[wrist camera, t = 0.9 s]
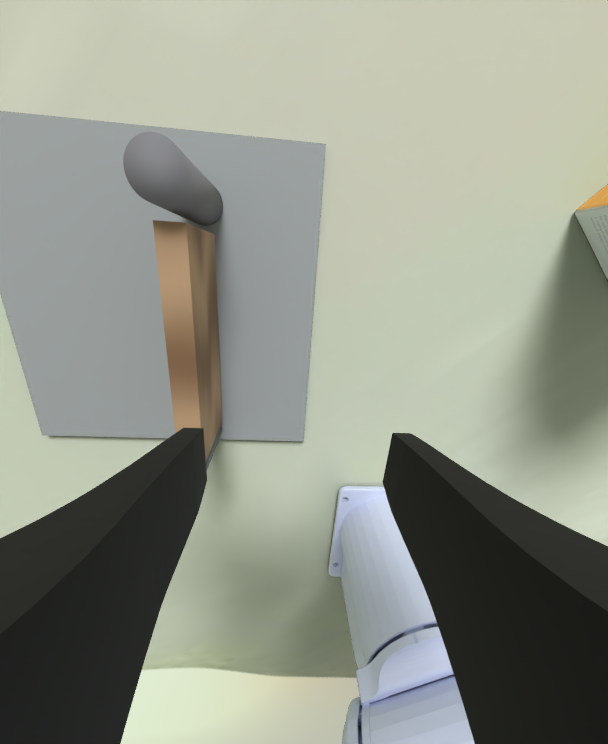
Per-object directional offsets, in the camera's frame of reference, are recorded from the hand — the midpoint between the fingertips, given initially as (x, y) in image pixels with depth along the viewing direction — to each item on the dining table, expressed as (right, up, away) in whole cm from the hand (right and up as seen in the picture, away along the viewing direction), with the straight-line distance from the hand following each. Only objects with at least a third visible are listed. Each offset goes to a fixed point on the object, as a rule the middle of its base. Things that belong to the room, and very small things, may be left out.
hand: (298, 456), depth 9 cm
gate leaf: (-5, +5, +7) cm, 10 cm away
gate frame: (-8, +6, +7) cm, 12 cm away
